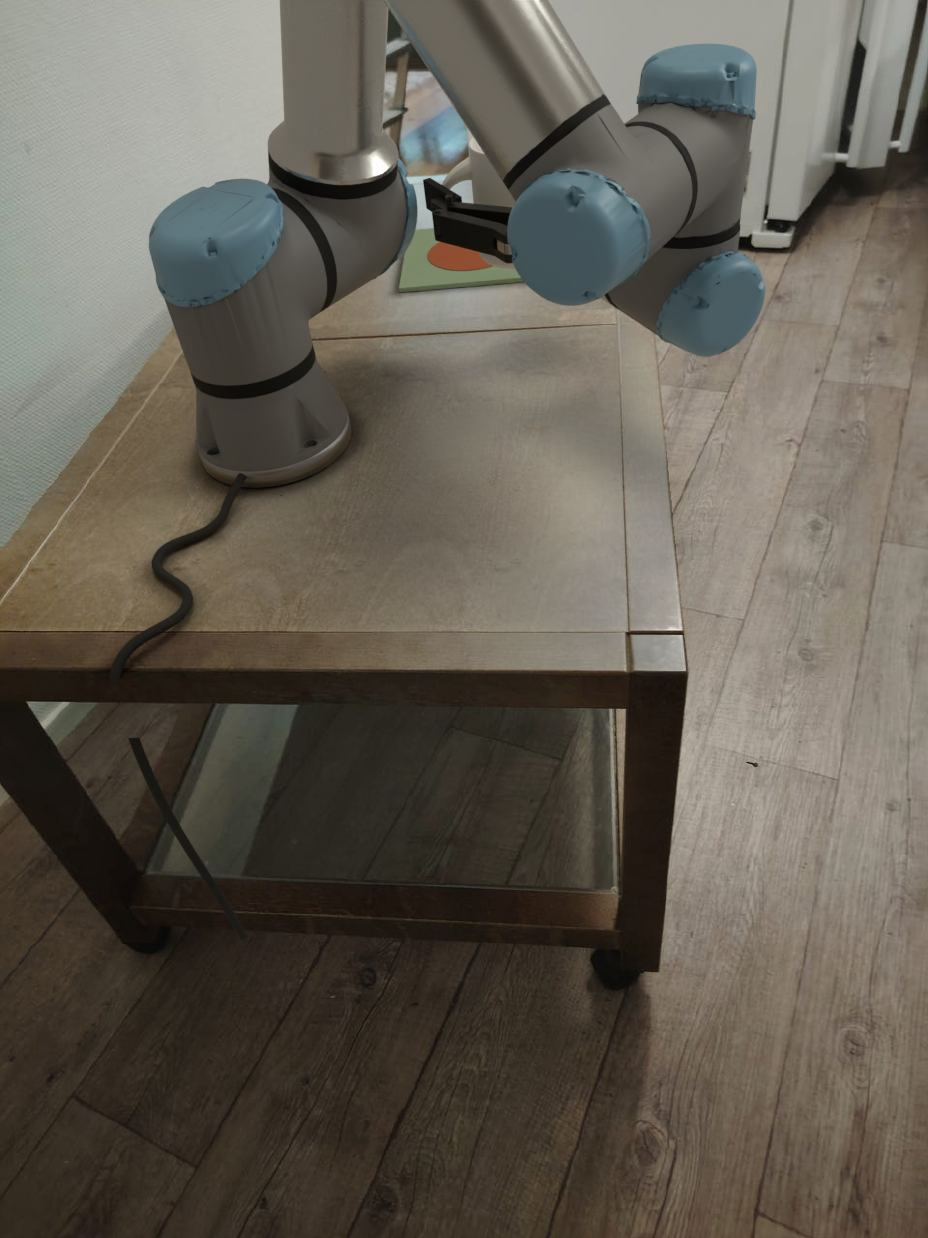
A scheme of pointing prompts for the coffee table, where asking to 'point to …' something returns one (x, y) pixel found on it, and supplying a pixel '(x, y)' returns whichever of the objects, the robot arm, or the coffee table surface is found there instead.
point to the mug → (482, 187)
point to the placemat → (447, 266)
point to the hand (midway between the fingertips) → (481, 176)
